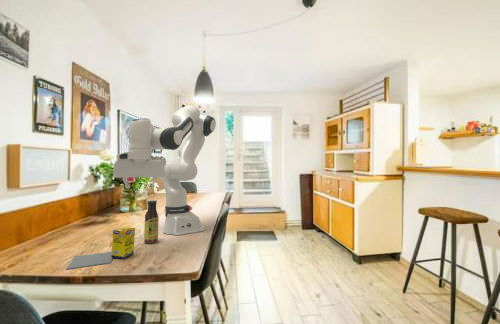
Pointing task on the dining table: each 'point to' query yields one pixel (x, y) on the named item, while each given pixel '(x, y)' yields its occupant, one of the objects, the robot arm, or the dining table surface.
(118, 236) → the supplement box
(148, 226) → the sauce bottle
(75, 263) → the slate pad
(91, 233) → the dining table surface
